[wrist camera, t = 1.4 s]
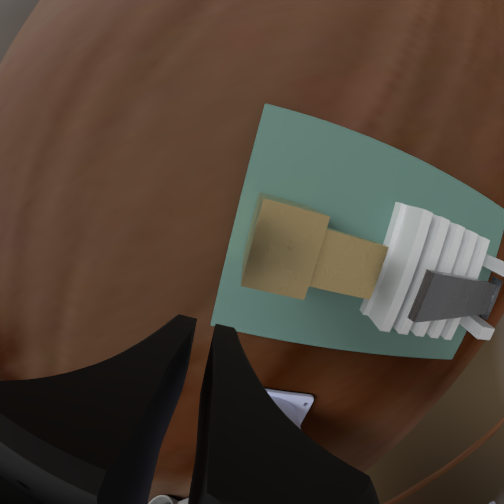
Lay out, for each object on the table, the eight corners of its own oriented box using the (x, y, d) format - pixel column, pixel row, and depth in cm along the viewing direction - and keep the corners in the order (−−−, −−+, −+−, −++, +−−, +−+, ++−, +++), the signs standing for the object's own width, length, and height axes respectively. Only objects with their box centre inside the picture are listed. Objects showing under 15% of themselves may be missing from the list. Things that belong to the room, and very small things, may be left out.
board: (446, 354, 22) (475, 385, 17) (212, 318, 20) (201, 363, 15) (500, 210, 18) (541, 221, 13) (264, 107, 17) (270, 79, 11)
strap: (479, 313, 17) (488, 319, 16) (400, 322, 12) (414, 332, 11) (494, 276, 16) (503, 281, 15) (425, 258, 11) (441, 266, 10)
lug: (339, 278, 18) (367, 312, 13) (242, 255, 18) (240, 285, 13) (358, 220, 17) (395, 236, 12) (259, 192, 17) (263, 198, 12)
